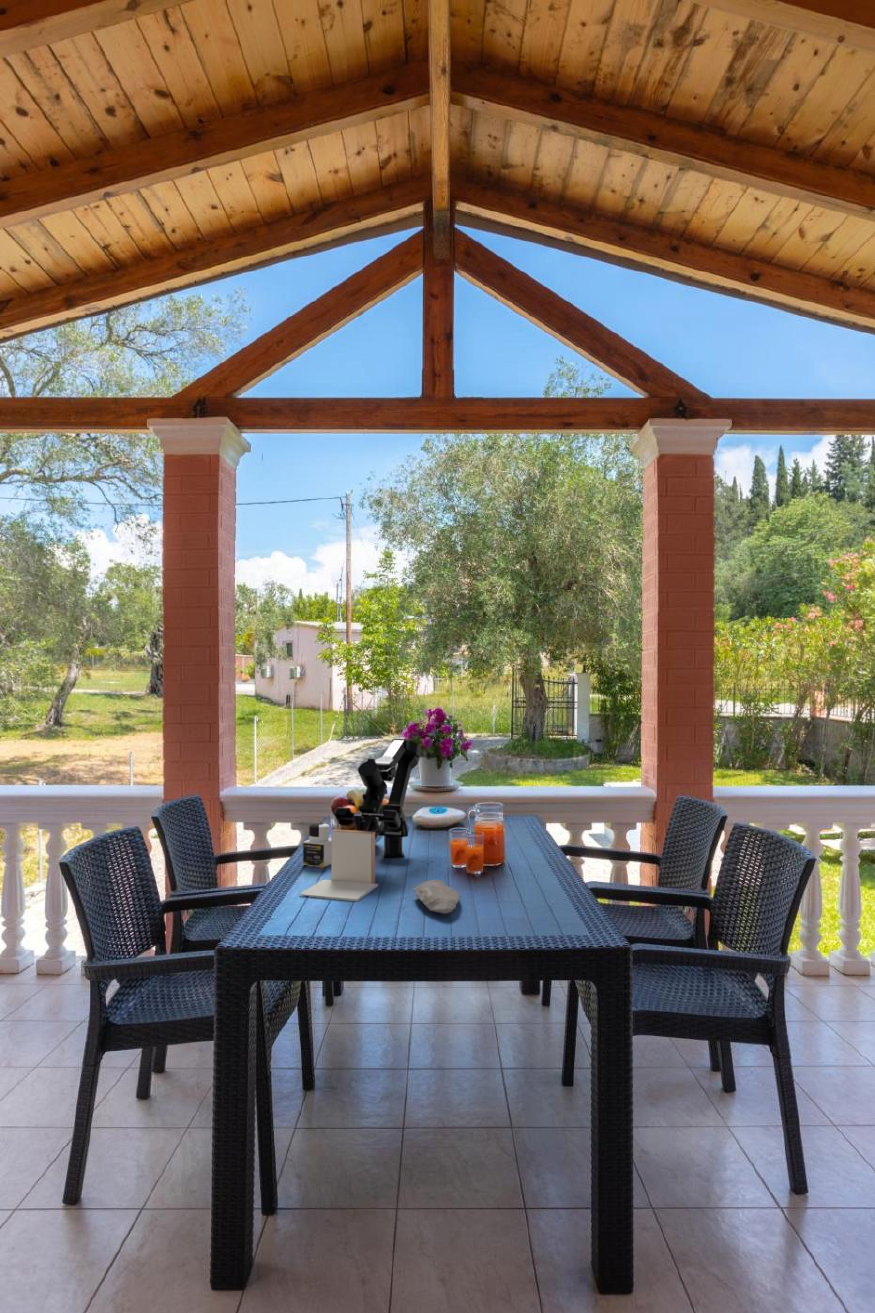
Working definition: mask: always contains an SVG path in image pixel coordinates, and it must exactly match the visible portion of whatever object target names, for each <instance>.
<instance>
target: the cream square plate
mask: <svg viewBox="0 0 875 1313" xmlns="http://www.w3.org/2000/svg"><path fill="white" fill-rule="evenodd" d="M378 886H379V883H374V884H373V883H361V882H349V881H337V880H331V879H322V880H321V881H319V882H317V883H315V884H313V885H312V886H310V887H308V888H306V889H305V890H304V891H302V892H300V893H299V895H302V896H309V897H308V898H311V897H316V898H315V899H322V898H325V900H334V899H335V901H337V900H338V901H347V902H356V903H357V902H359V901H360V900H361V899H363V898H364V897H365V896H366V895H368V894H369V893H371V892H372V891H373V890H374V889H377V887H378Z"/></svg>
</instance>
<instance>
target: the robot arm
mask: <svg viewBox="0 0 875 1313" xmlns="http://www.w3.org/2000/svg"><path fill="white" fill-rule="evenodd" d="M422 754H423V750H422V746H421V745H420V744H419V743H417V742H415V741H413V740H410V738H407V737H393V738H392V740H391V743H390V745H389V746H388V748H387V749H386V750H385V752H384V754H383V755H382V756H381V757H379V758H367V761H364V762H362V763H361V764H360V765H358V768H357V772H358V774H359V777H360V779H361V781H362V784H363V786H364V787H366V790H365V792H364V794H363V793H362V796H361V798H362V803H361V805H359V806H358V807H357V809H358V811H357V810H356V811H355V810H354V812H352V810H351V807H342V806H341V807H340V806H339V807H336V808H335V811H334V813H333V814H334V817H335V819H336V822H337V823H338V825H339V826H342V827H343V826H345V827H350V826H352V825H353V824H354V825H355V828H356V831H370V832H375V834H377V836H378V837H383V851H381V852H382V857H383V858H397V857H398V858H399V857H400V858H403V857H405V853H404V851H403V838H405V837H409V832H410V831H409V830H410V828H409V825H408V823H407V820H406V815H405V813H404V811H403V808H404V804H405V803H404V802H405V798H406V794H407V791H408V787H409V786H408V785H409V782H410V778H411V775H412V774H411V773H412V770H413V769H414V768H415V767H416V766H417V765H418V764H419V762H420V758H422ZM396 766H397V767H396ZM392 781H393V782H392ZM386 782H392V786H391V790H390V795H389V798H388V803H387V804H383V802H384V799H385V795H387V794H388V785H387V783H386Z"/></svg>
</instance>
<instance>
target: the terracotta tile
mask: <svg viewBox="0 0 875 1313" xmlns="http://www.w3.org/2000/svg"><path fill="white" fill-rule="evenodd" d="M330 839H331V864H330V865H331V868H330V869H331V874H330V875H331V877H330V878H331V879H330V880H337V881H349V882H361V883H373V884H376V833H375V832H370V831H357V830H354V829H353V830H351V829H350V830H349V829H335V828H334V829H332V830H331V838H330Z"/></svg>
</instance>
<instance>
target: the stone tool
mask: <svg viewBox="0 0 875 1313" xmlns="http://www.w3.org/2000/svg"><path fill="white" fill-rule="evenodd" d="M412 890H413V892H414V893H415V896H416V899H418V900H420V901H421V903H423V905H424V906H425V907H426V909H428V910H429V911H431V912H434V913H438V914H443V915H445V914H446V915H447V914H450V913H452V912H453V911H454V910H455V909H456V907H457V905H458V904H459V901H460V900H461V895H460V892H459V891H456V890H455V889H454V888H453V887H450V886H447V885H446V883H445V882H444V881H443V880H440V879H433V880H425V881H423V882H422V883H420V884H419V885H417V886H416V887H414V888H412Z"/></svg>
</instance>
